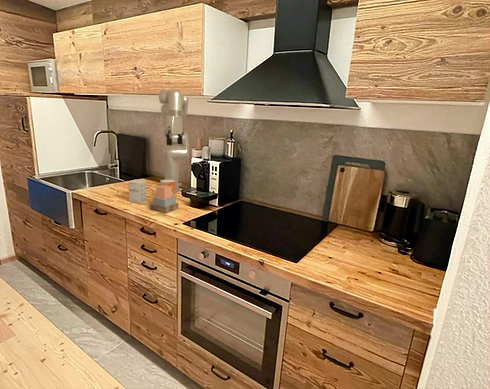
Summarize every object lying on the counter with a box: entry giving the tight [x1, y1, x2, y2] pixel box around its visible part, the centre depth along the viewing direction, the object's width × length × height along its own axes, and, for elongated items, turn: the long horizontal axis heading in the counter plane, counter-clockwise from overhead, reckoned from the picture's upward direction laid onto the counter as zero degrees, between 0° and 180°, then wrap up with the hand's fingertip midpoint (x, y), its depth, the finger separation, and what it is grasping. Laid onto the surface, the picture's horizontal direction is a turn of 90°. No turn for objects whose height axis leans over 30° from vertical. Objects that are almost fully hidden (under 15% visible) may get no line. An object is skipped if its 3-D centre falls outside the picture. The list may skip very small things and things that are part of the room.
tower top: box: [152, 196, 177, 207], centre depth 170 cm, size 9×9×4 cm
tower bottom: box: [149, 202, 179, 214], centre depth 171 cm, size 11×11×4 cm
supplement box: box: [128, 179, 147, 204], centre depth 181 cm, size 7×7×13 cm
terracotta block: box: [155, 185, 172, 199], centre depth 169 cm, size 6×6×6 cm
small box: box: [159, 179, 177, 197], centre depth 186 cm, size 8×6×13 cm
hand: (174, 144), depth 171 cm, fingers open, 9 cm apart
